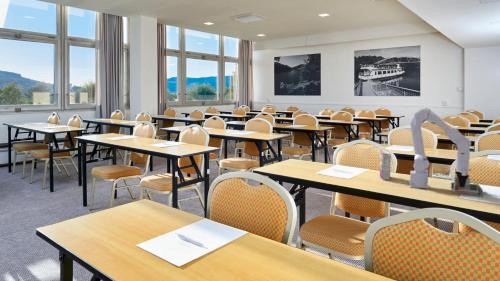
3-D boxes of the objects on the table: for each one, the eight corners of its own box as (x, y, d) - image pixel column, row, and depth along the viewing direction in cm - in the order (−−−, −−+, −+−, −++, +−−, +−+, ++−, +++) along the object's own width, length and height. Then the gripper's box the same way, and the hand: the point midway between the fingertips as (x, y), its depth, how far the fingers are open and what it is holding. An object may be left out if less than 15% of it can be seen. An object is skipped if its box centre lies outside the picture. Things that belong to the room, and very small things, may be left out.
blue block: (469, 191, 196) (470, 179, 195) (454, 190, 199) (455, 178, 198) (468, 189, 200) (469, 178, 199) (453, 188, 203) (454, 177, 202)
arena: (453, 194, 197) (453, 187, 196) (451, 188, 208) (451, 182, 207) (482, 196, 192) (482, 189, 191) (478, 190, 203) (478, 184, 202)
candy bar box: (379, 175, 239) (379, 150, 237) (387, 176, 238) (388, 150, 236) (381, 180, 229) (382, 153, 226) (390, 180, 228) (391, 153, 225)
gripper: (473, 164, 189) (472, 190, 191) (469, 159, 202) (467, 183, 204) (458, 163, 192) (456, 188, 194) (454, 158, 205) (453, 182, 207)
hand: (461, 186), depth 199 cm, fingers closed on blue block, 4 cm apart
